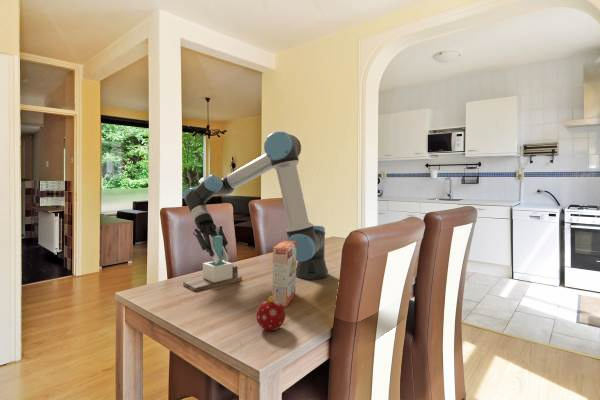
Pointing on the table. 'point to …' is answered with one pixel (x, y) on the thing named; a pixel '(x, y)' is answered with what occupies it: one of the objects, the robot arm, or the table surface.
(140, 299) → the table surface
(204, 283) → the rail board
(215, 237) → the dowel
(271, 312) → the christmas ornament
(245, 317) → the table surface
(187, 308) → the table surface
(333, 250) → the table surface
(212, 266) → the block
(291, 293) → the cracker box
